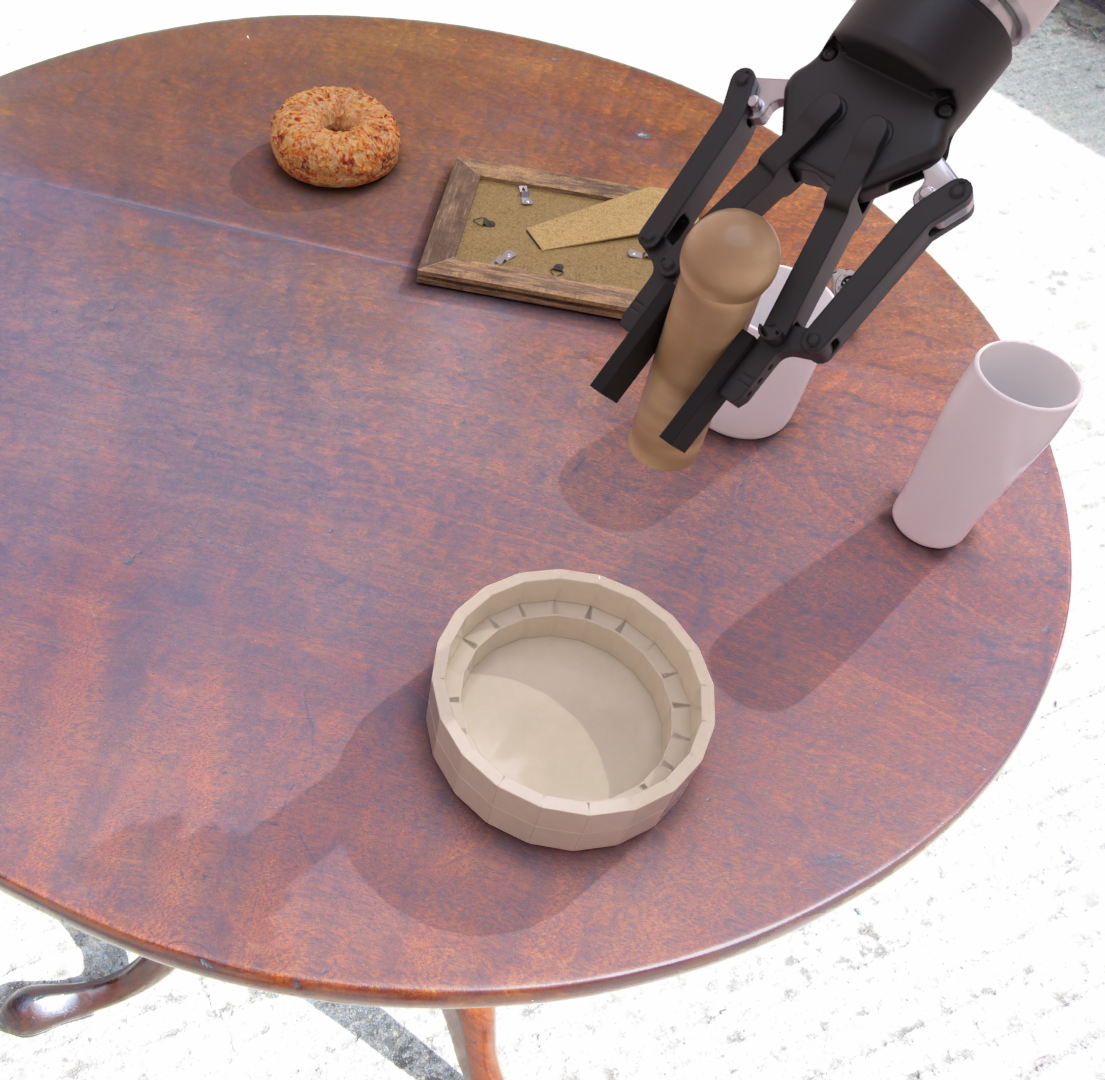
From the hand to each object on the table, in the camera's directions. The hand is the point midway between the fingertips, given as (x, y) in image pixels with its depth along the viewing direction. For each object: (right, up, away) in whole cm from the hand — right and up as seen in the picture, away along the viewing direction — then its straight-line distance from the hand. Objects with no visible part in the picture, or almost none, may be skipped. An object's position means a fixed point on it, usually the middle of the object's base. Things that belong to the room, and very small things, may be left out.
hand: (637, 418), depth 56 cm
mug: (+14, +4, +30) cm, 33 cm away
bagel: (-18, +32, +51) cm, 62 cm away
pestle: (+3, -1, +5) cm, 6 cm away
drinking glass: (+27, -5, +24) cm, 36 cm away
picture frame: (+3, +21, +43) cm, 48 cm away
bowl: (-2, -18, +12) cm, 22 cm away
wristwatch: (+25, +13, +38) cm, 48 cm away
